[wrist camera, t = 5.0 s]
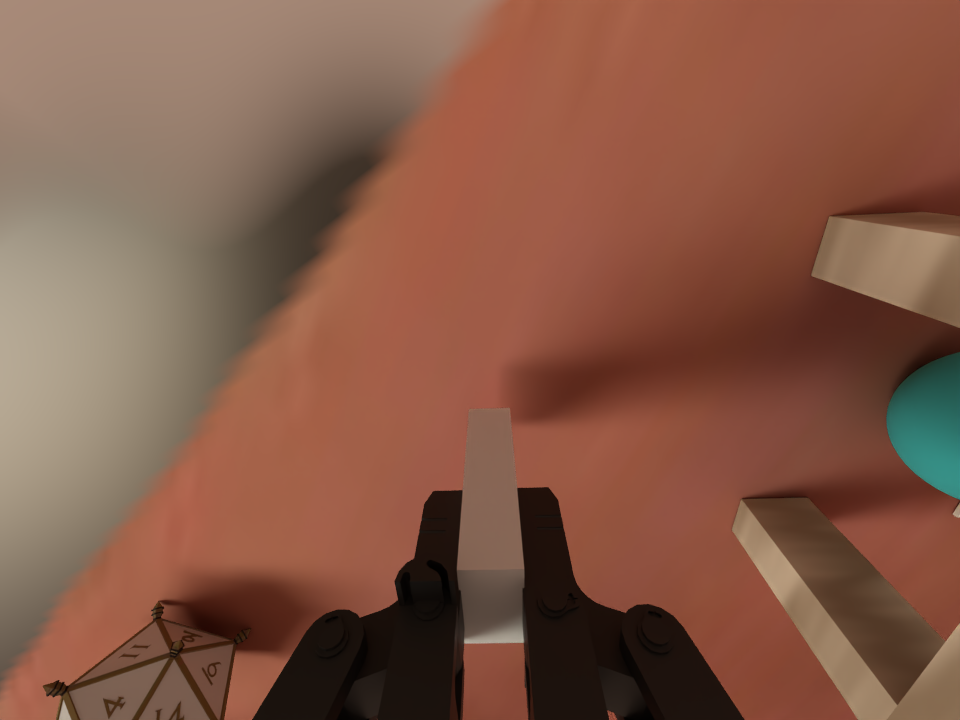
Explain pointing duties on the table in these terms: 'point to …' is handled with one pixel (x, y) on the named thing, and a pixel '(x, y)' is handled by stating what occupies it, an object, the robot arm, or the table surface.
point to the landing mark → (957, 511)
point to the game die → (155, 677)
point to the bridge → (820, 545)
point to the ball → (929, 423)
